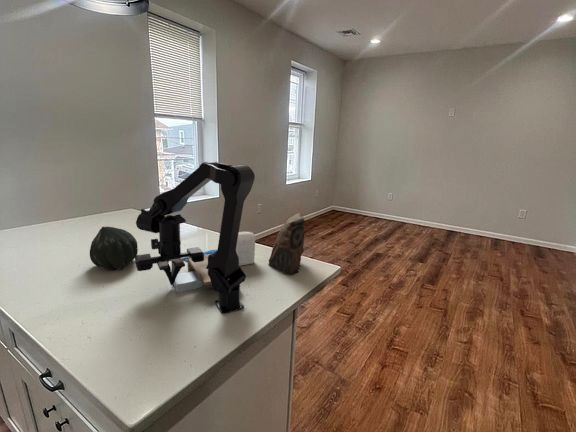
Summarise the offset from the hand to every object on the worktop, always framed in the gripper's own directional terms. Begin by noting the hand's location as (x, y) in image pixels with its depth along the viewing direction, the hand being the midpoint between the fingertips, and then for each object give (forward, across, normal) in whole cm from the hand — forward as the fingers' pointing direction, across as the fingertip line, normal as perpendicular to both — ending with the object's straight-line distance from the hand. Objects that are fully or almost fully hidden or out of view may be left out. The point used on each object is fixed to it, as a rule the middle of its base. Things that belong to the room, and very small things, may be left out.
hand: (171, 284), depth 94 cm
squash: (+2, +14, -25) cm, 29 cm away
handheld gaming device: (+2, -16, -19) cm, 25 cm away
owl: (+1, -40, +1) cm, 40 cm away
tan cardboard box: (+1, -12, 0) cm, 12 cm away
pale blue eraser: (+1, -8, 0) cm, 8 cm away
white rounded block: (+1, -26, -8) cm, 27 cm away
